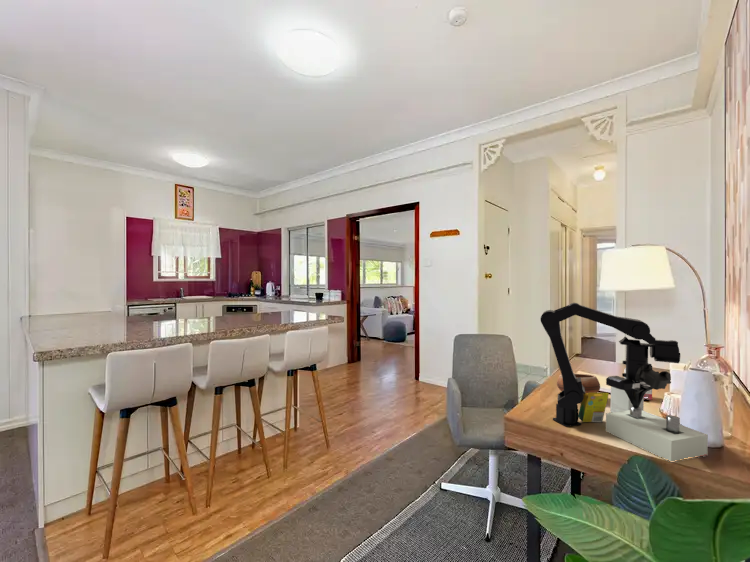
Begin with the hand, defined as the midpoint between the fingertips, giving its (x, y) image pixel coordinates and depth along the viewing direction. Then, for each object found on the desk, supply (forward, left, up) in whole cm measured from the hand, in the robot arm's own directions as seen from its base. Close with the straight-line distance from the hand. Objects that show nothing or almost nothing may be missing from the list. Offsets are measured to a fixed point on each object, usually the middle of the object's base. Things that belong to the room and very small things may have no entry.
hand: (635, 407), depth 114 cm
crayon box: (-5, +12, -8) cm, 16 cm away
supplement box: (+13, +13, -9) cm, 21 cm away
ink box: (+35, +26, -9) cm, 45 cm away
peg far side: (0, -11, -5) cm, 12 cm away
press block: (0, -6, -9) cm, 10 cm away
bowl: (+11, +33, -9) cm, 36 cm away
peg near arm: (0, 0, -6) cm, 6 cm away
